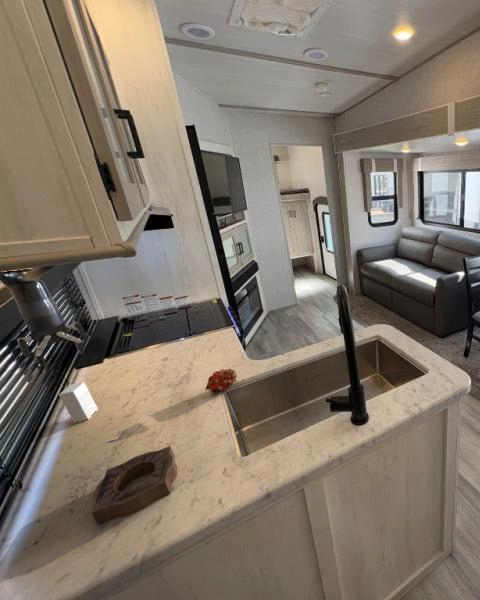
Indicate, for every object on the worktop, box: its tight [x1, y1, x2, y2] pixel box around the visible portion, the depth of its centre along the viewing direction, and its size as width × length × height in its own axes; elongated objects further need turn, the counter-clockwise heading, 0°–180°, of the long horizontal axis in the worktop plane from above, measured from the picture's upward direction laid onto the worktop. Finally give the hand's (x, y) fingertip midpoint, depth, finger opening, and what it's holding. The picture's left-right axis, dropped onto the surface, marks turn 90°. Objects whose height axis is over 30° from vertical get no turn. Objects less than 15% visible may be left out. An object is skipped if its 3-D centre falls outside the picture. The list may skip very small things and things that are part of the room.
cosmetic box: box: [58, 381, 99, 424], centre depth 107 cm, size 6×4×12 cm
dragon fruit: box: [204, 368, 238, 394], centre depth 118 cm, size 8×8×12 cm
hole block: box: [90, 445, 178, 526], centre depth 80 cm, size 16×16×4 cm
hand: (64, 358), depth 100 cm, fingers open, 8 cm apart
